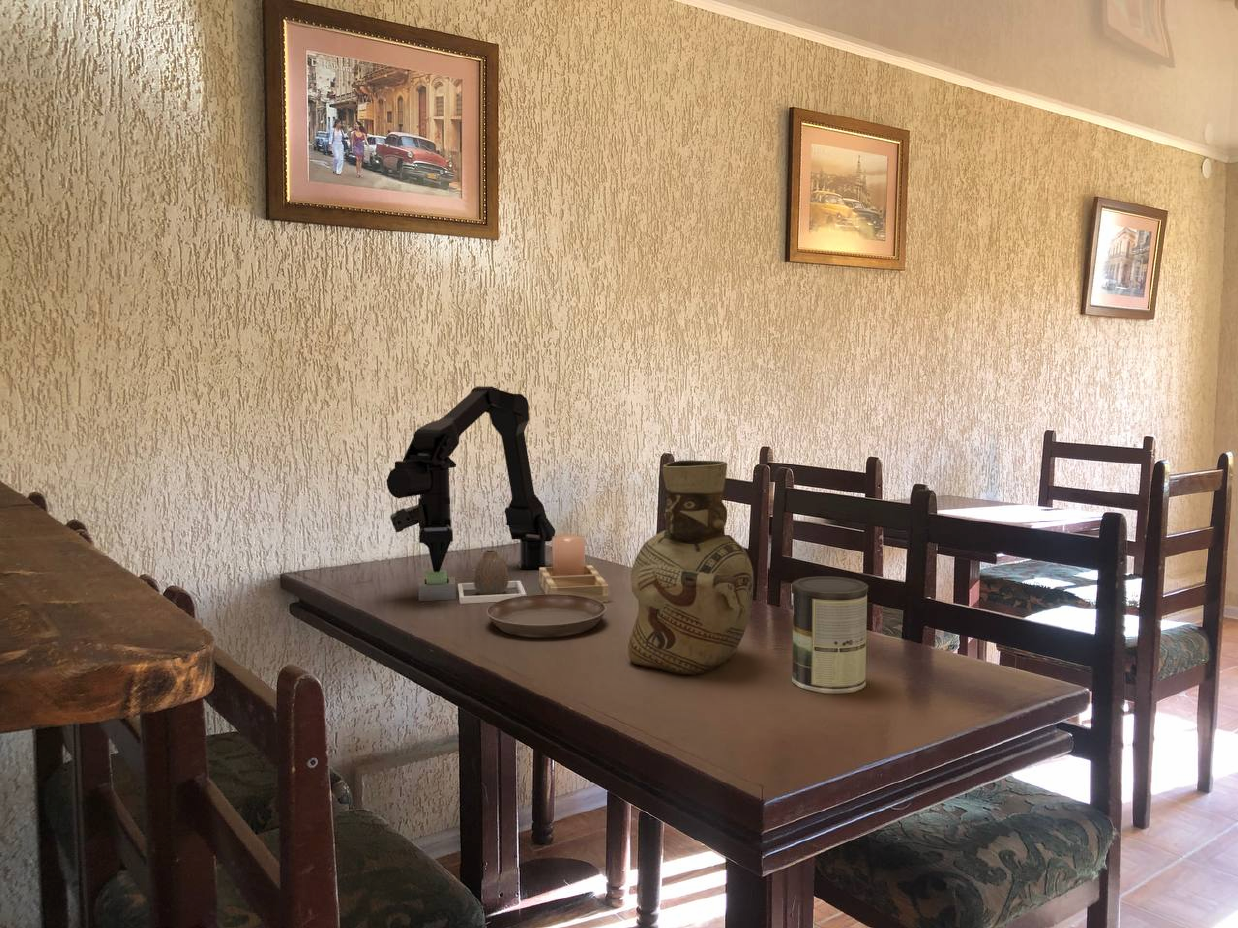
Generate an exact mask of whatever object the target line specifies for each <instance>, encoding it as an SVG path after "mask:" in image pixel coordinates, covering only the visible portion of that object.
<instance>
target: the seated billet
mask: <svg viewBox="0 0 1238 928" xmlns="http://www.w3.org/2000/svg"><path fill="white" fill-rule="evenodd" d="M551 542H552V543H551V544H552V546H551V549H552V551H551V552H552V567H553V576H570V575H585V566H586V537H585V535H581V534H571V533H569V534H557V535H555V536H553V537H552V541H551Z"/></svg>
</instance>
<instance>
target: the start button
mask: <svg viewBox="0 0 1238 928" xmlns="http://www.w3.org/2000/svg"><path fill="white" fill-rule="evenodd" d="M447 577H448V570H446V569H440V571H439V572H434V570H433V569H430V570H429V569H428V570H426V571H425V578H426V584H440V583H447Z"/></svg>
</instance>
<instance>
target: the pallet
mask: <svg viewBox="0 0 1238 928" xmlns="http://www.w3.org/2000/svg"><path fill="white" fill-rule="evenodd" d="M538 570H539V571H538V573H539V574H538V575H539V577H538V579H539V580H538V581H539V585H540V586H541V588H542V591H543V592H544V594H566V595H576V596H583V597H588V598H592V599H595V600H598V601H600V602H602V603H609V602H610V594H609V593H610V588H609V587H610V586H609V584H608V582H606V580H605V579H604V578H603V577H602V576H601V575H600V573H599V572H598V571H597V570H596V569H595V568H594V567H593V565H592V564H591V565H586V564H585V575H570V576H553V566H549V567H540V568H539V569H538Z"/></svg>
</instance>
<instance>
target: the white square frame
mask: <svg viewBox="0 0 1238 928" xmlns="http://www.w3.org/2000/svg"><path fill="white" fill-rule="evenodd" d="M511 588H513V589H514V588H516V589H517V592H518V593H510V594H509V593H507V594H506V593H505V594H504V593H503V594H502V595H482V596H481V595H464V591H467V590H468V591H469V590H476V588H475V586H474V582H463V583H460V582H459V583H457V593H458V600H459V604H460V605H462V604H463V605H464V604H465V605H466V604H479V603H481V604H482V603H496V602H499V601H502V600H505V599H509V598H514V597H519V596H526V595H527V593H526V590H525V588H524V586H523V584H522V581H521V580H509V581H508V585H507V588H506V589H511Z"/></svg>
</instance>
